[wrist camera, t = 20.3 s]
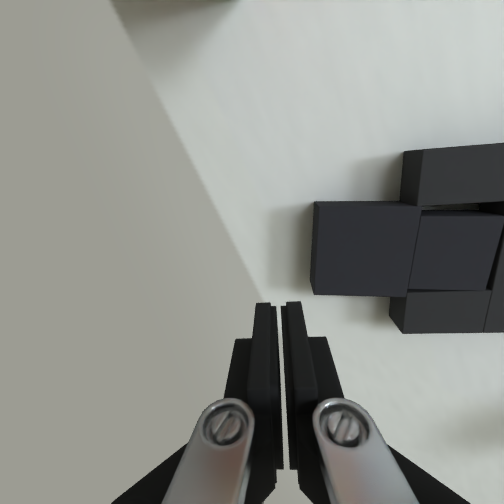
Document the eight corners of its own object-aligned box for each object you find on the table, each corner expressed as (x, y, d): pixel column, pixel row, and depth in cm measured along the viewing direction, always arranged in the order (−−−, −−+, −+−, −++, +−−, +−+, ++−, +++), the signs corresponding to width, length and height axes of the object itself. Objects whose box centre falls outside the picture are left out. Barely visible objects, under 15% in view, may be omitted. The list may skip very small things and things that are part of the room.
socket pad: (388, 315, 24) (402, 334, 22) (403, 151, 20) (423, 149, 17) (534, 312, 23) (568, 332, 20) (584, 136, 19) (635, 132, 16)
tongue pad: (309, 280, 24) (313, 295, 21) (314, 201, 22) (319, 206, 19) (459, 283, 23) (483, 299, 20) (479, 200, 21) (509, 205, 18)
